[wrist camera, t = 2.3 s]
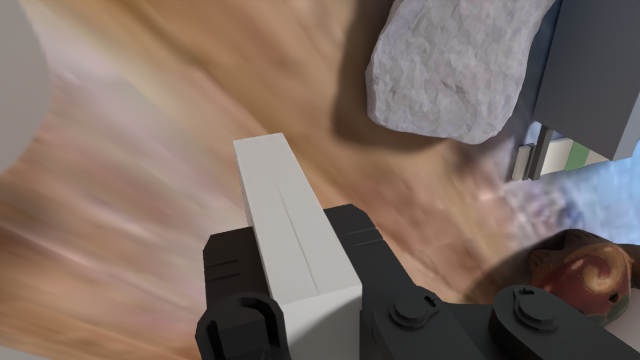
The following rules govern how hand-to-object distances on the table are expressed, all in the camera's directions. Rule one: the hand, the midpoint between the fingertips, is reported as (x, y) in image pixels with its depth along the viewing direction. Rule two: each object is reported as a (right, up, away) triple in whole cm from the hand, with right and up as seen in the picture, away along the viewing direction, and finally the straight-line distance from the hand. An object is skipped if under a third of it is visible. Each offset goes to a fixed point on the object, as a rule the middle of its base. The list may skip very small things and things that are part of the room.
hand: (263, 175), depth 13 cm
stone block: (+9, +9, +13) cm, 18 cm away
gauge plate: (+19, +8, +16) cm, 26 cm away
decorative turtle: (+25, -8, +29) cm, 40 cm away
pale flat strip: (+23, +2, +22) cm, 31 cm away
